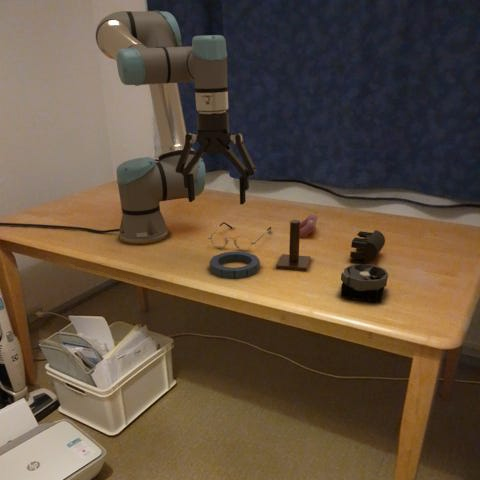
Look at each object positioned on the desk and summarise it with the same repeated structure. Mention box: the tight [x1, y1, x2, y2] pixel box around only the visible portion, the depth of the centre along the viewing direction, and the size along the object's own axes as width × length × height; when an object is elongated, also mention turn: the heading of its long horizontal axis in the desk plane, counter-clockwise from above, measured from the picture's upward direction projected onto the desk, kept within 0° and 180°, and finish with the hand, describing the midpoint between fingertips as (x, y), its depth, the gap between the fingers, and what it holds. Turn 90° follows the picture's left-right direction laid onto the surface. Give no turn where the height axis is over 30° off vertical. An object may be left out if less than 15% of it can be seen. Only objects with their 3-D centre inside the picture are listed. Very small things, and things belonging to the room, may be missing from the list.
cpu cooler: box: [340, 263, 389, 304], centre depth 113 cm, size 10×6×10 cm
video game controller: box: [300, 213, 319, 239], centre depth 150 cm, size 10×5×7 cm, turn 168°
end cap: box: [349, 229, 386, 265], centre depth 131 cm, size 10×7×7 cm
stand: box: [276, 219, 312, 272], centre depth 128 cm, size 8×8×12 cm
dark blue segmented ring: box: [209, 251, 261, 279], centre depth 129 cm, size 13×13×2 cm
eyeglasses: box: [208, 221, 272, 252], centre depth 147 cm, size 16×19×5 cm
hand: (217, 201), depth 123 cm, fingers open, 13 cm apart
